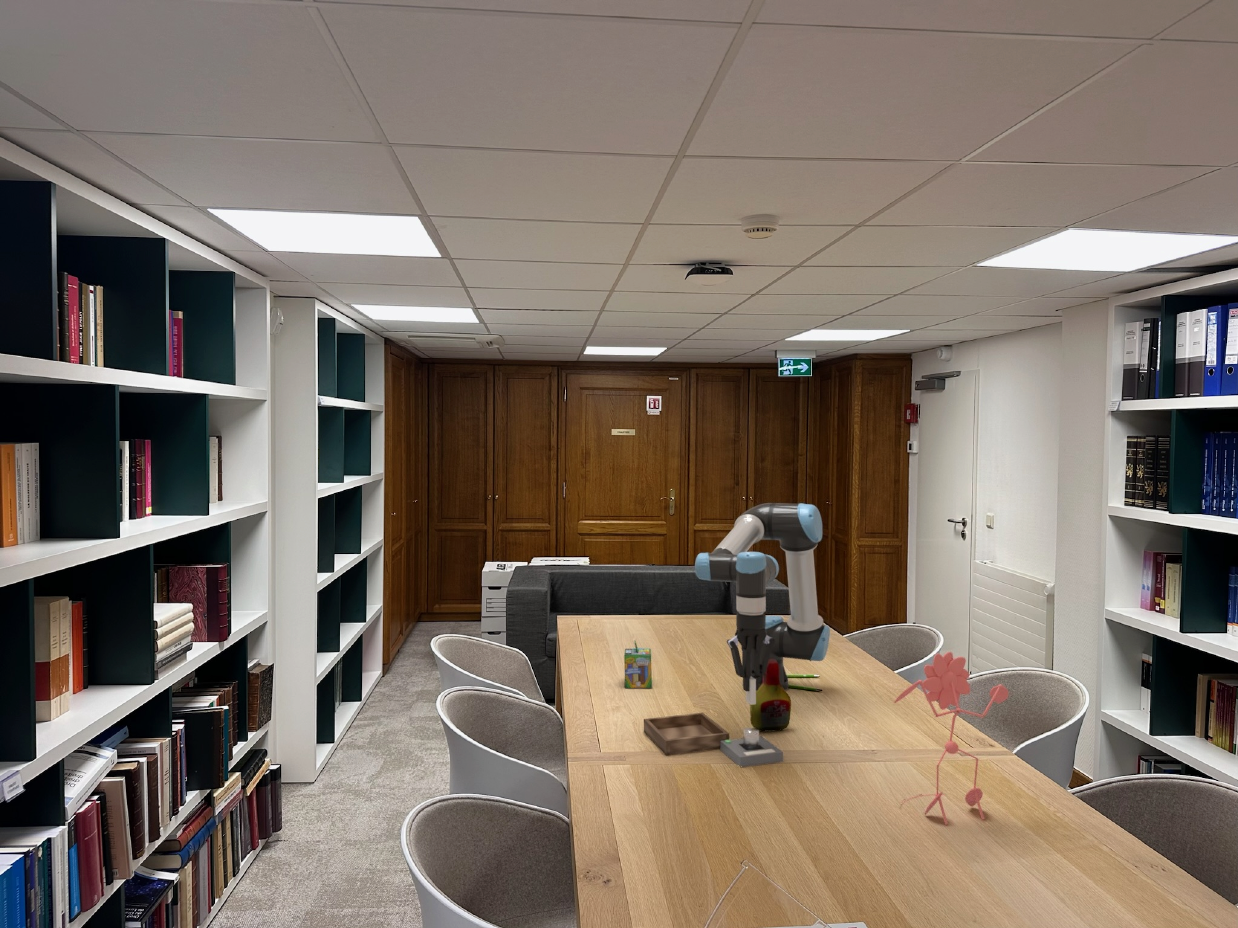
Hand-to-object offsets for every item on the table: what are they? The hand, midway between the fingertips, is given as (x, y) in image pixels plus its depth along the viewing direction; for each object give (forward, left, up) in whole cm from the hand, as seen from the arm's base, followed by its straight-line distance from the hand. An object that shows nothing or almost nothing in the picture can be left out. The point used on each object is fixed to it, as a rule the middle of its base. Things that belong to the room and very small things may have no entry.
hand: (750, 702), depth 210 cm
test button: (0, 0, -12) cm, 12 cm away
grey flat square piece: (0, 0, -14) cm, 14 cm away
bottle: (-14, -16, -14) cm, 26 cm away
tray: (+12, -16, -14) cm, 24 cm away
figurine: (-27, +41, -14) cm, 51 cm away
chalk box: (+8, -69, -14) cm, 71 cm away
